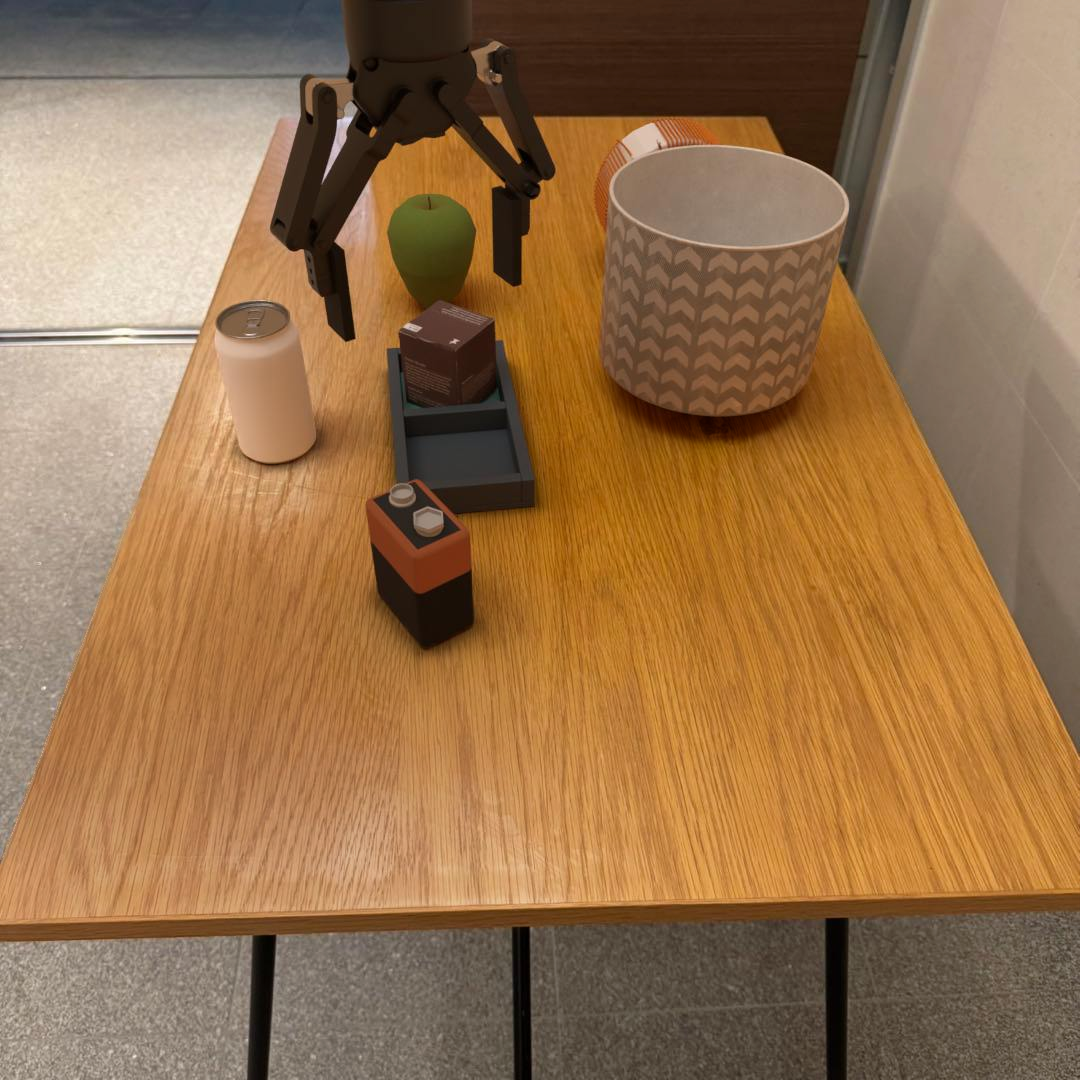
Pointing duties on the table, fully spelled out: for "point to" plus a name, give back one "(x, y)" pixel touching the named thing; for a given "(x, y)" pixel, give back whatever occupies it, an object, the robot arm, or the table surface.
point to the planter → (717, 276)
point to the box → (448, 356)
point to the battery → (421, 561)
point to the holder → (463, 445)
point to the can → (265, 381)
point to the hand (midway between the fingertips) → (427, 304)
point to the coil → (646, 151)
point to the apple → (432, 246)
